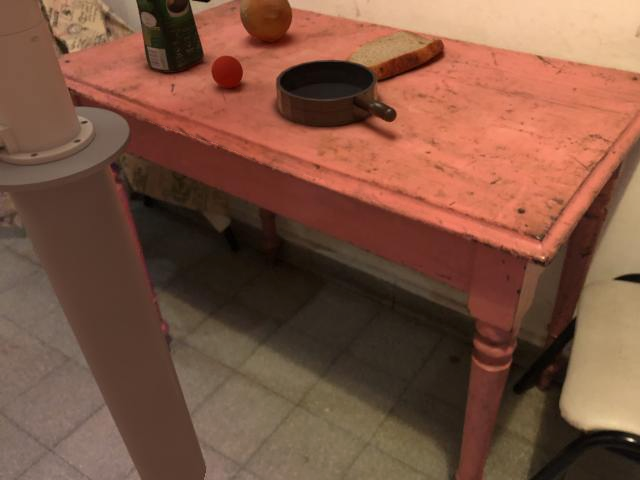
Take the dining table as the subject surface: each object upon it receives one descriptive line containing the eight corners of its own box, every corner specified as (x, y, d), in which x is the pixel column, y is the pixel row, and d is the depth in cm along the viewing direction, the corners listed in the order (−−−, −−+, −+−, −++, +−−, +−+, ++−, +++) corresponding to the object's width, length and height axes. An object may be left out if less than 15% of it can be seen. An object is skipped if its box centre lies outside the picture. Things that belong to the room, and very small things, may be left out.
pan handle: (388, 126, 80) (389, 112, 79) (351, 107, 85) (351, 93, 84) (399, 121, 81) (400, 108, 80) (361, 103, 86) (361, 90, 85)
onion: (232, 42, 113) (224, -14, 107) (269, 28, 119) (263, -26, 113) (267, 53, 108) (261, -5, 102) (304, 38, 114) (300, -18, 108)
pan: (318, 136, 83) (316, 110, 81) (259, 102, 92) (256, 77, 90) (397, 105, 90) (398, 80, 88) (335, 76, 100) (334, 52, 97)
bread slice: (344, 85, 97) (343, 62, 94) (344, 45, 110) (343, 25, 108) (453, 82, 97) (456, 60, 94) (440, 43, 110) (441, 23, 108)
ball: (224, 95, 94) (219, 65, 91) (208, 86, 97) (203, 56, 94) (250, 87, 97) (246, 56, 94) (234, 78, 100) (230, 48, 97)
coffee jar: (180, 51, 110) (158, -61, 98) (211, 59, 106) (191, -55, 94) (140, 68, 104) (110, -48, 92) (171, 77, 100) (144, -42, 88)
